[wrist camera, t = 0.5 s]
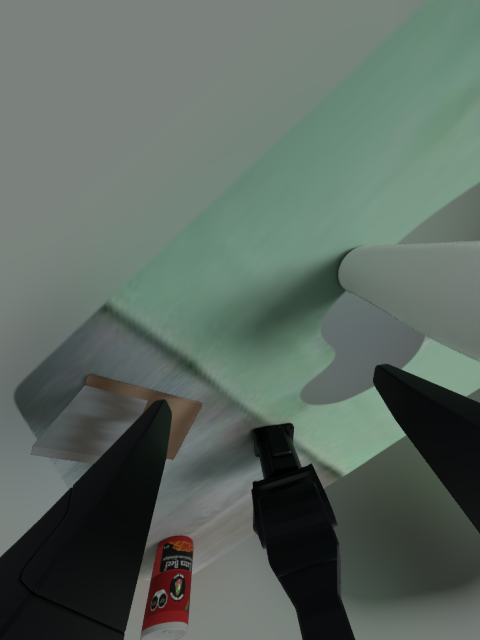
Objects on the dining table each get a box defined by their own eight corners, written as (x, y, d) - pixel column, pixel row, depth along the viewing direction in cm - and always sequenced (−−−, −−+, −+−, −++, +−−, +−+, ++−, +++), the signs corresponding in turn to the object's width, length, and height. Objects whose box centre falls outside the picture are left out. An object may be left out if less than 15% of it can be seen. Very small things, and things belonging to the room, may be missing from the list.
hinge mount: (201, 403, 28) (196, 468, 20) (174, 455, 32) (160, 528, 24) (89, 373, 24) (29, 441, 16) (73, 438, 28) (17, 518, 20)
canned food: (200, 537, 43) (195, 628, 33) (183, 553, 46) (174, 643, 36) (167, 533, 41) (151, 629, 31) (151, 550, 43) (132, 645, 33)
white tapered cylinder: (323, 296, 23) (474, 382, 10) (338, 234, 21) (576, 235, 7) (373, 298, 24) (576, 380, 11) (395, 239, 22) (700, 249, 8)
